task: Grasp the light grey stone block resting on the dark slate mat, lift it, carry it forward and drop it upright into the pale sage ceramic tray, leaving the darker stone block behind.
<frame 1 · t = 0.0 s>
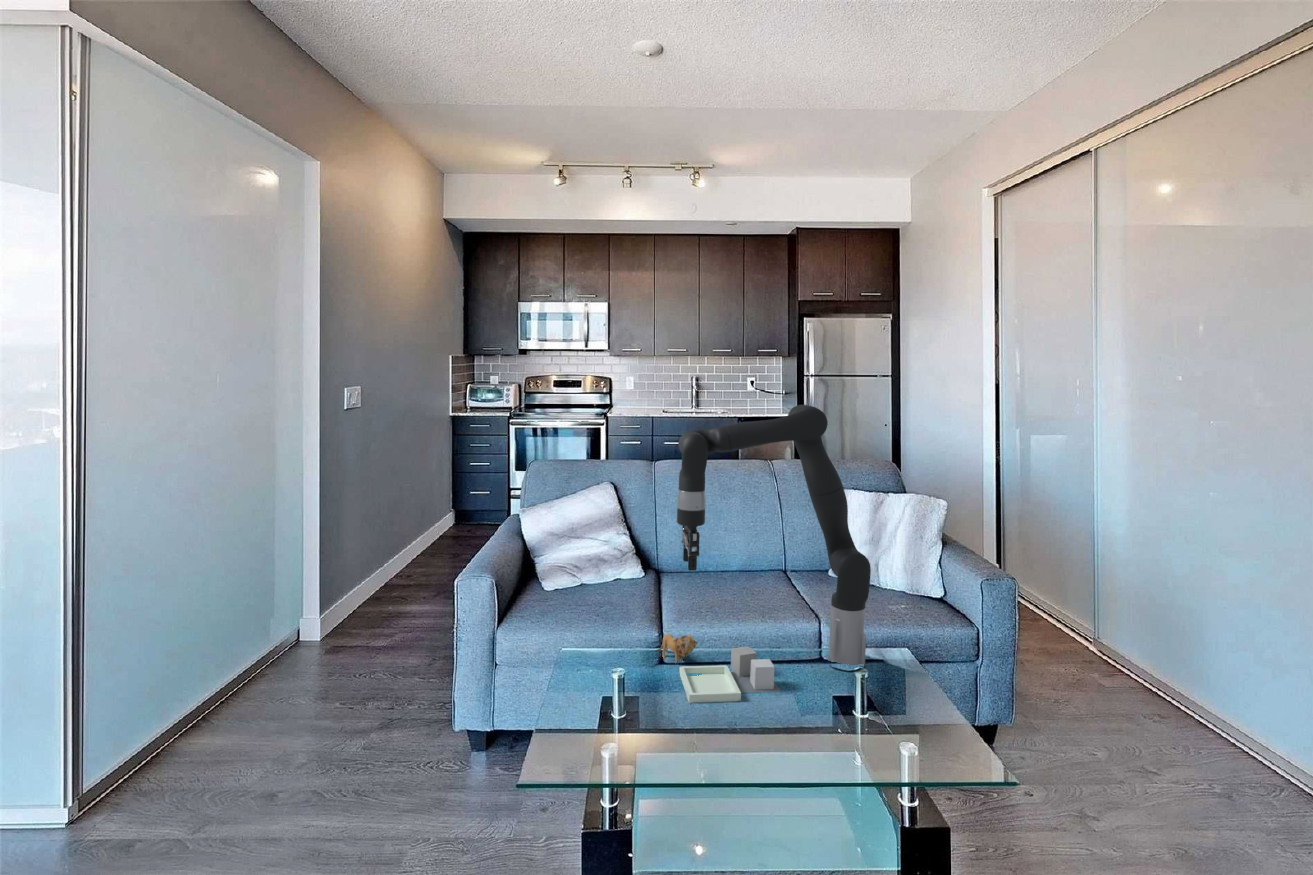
hand: (689, 565, 208), 29 cm above the table, fingers open, 8 cm apart
stone block b: (743, 671, 210), resting on slate mat
sage tray: (708, 688, 200), on the table
stone block a: (761, 685, 202), resting on slate mat
lion figurine: (676, 661, 217), on the table
slate mat: (752, 680, 206), on the table
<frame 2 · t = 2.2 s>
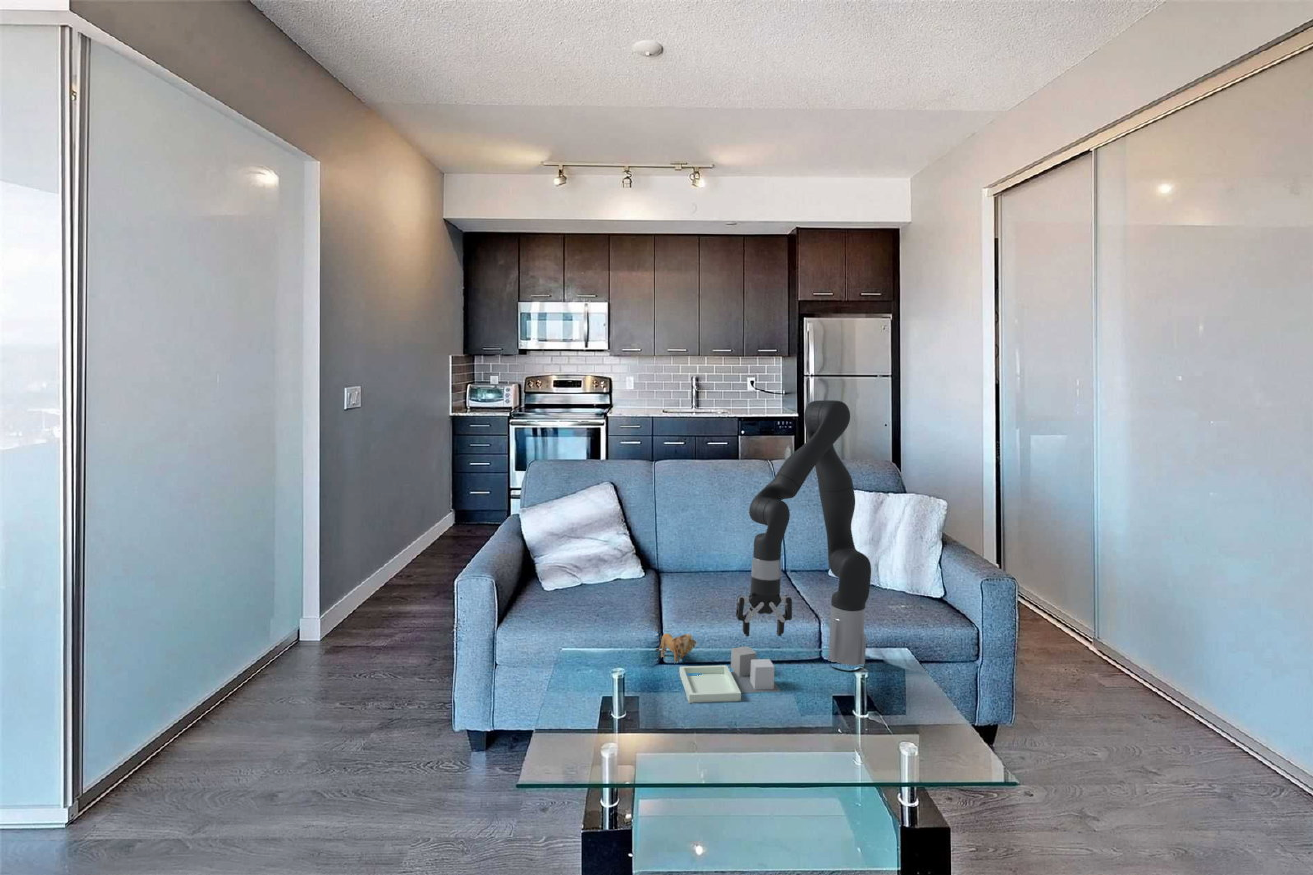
hand: (762, 635, 200), 14 cm above the table, fingers open, 8 cm apart
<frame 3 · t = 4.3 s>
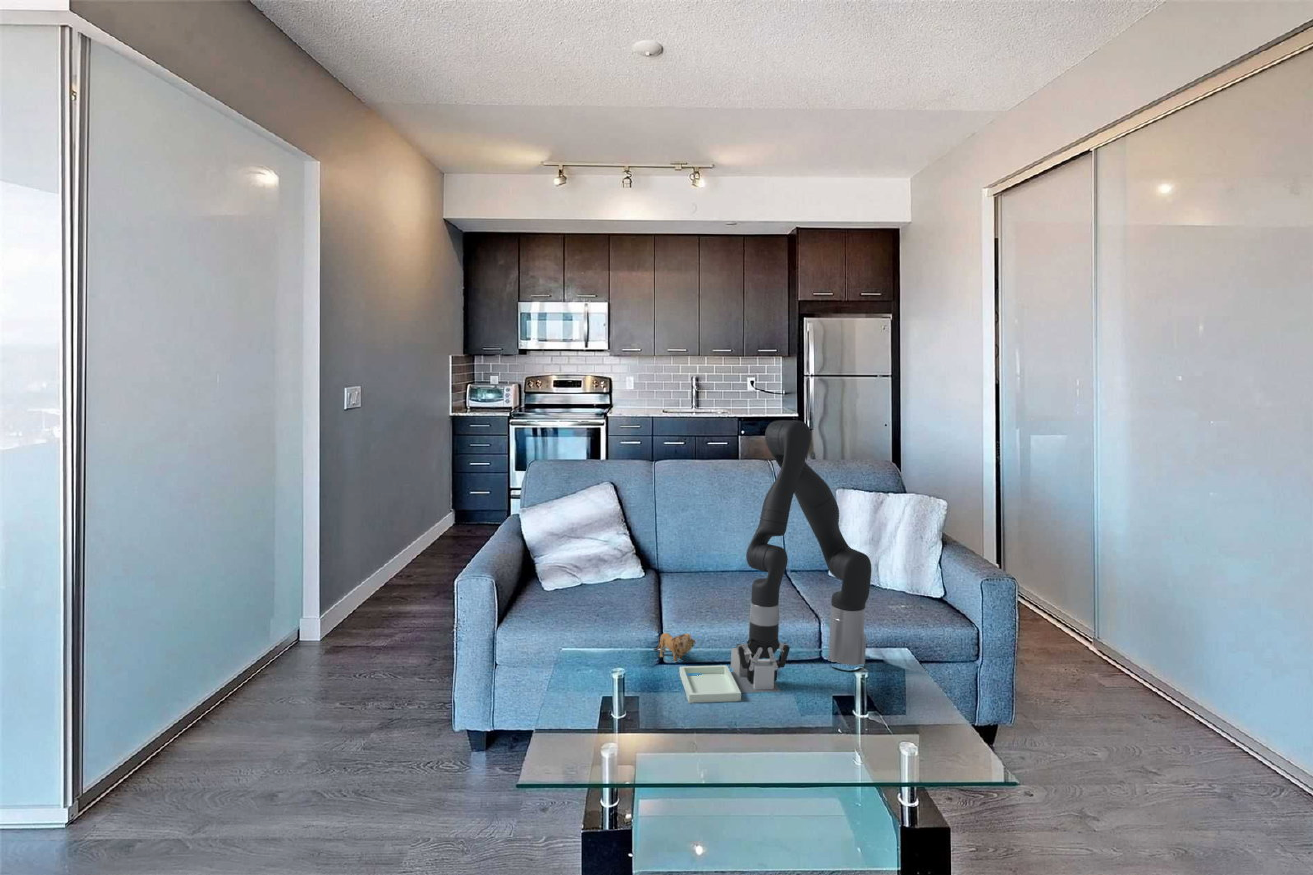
hand: (761, 682, 202), 1 cm above the table, fingers closed on stone block a, 5 cm apart
stone block a: (761, 685, 202), resting on slate mat, touching gripper
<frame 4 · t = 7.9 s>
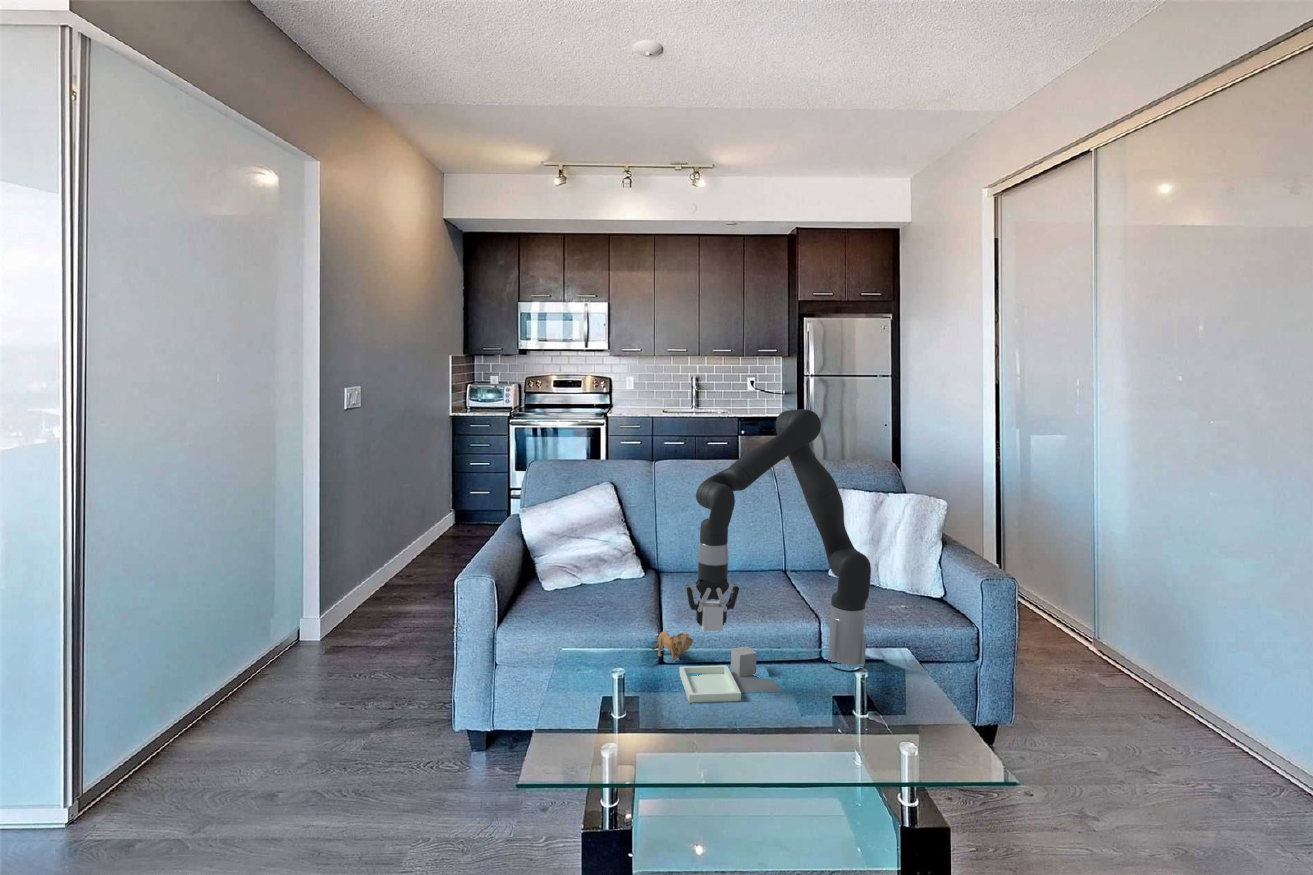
hand: (711, 624, 198), 17 cm above the table, fingers closed on stone block a, 5 cm apart
stone block a: (711, 627, 198), point 16 cm above the table, touching gripper
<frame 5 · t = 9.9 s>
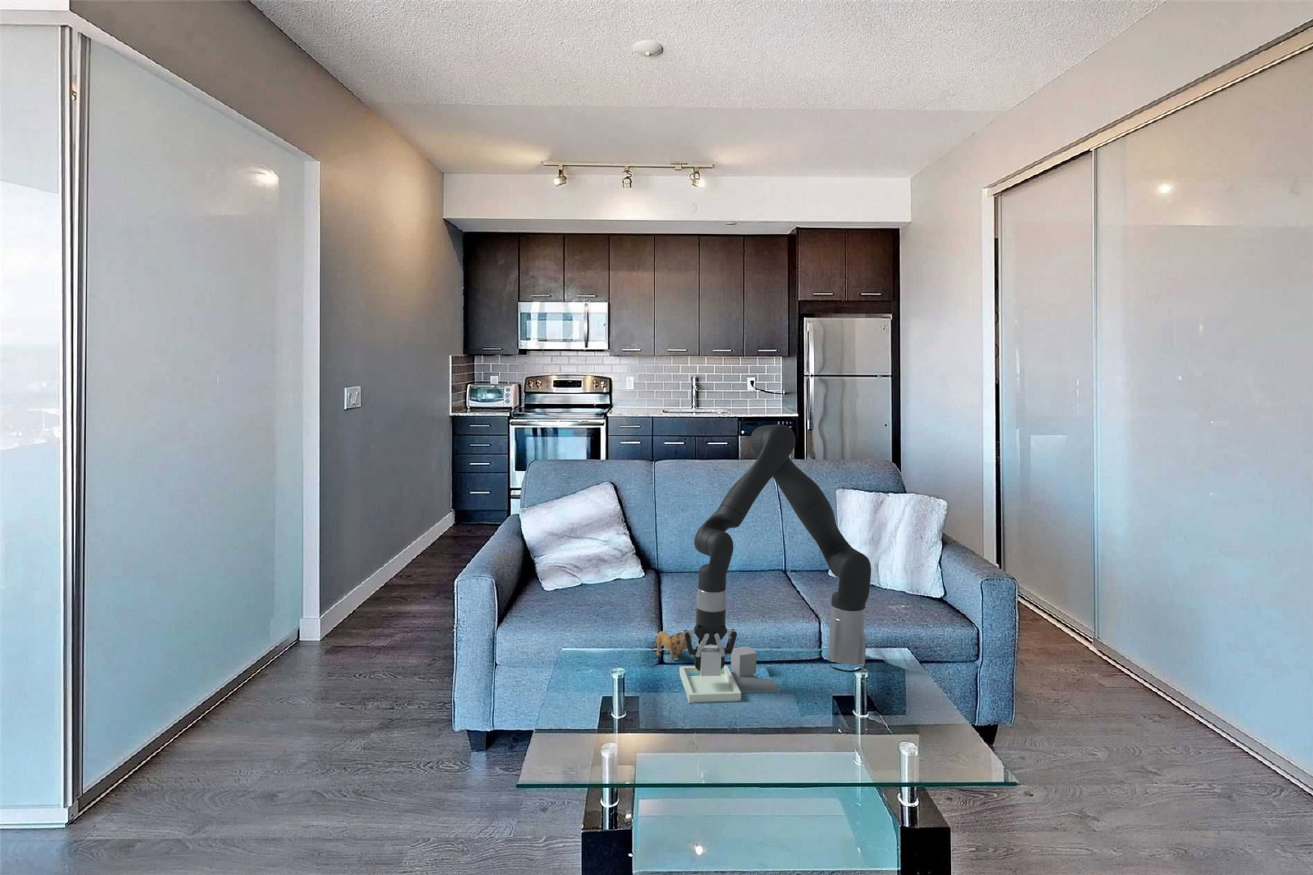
hand: (709, 668, 200), 5 cm above the table, fingers closed on stone block a, 5 cm apart
stone block a: (709, 671, 200), point 4 cm above the table, touching gripper
when the fingers open (3 cm above the table, at t = 11.3 s): stone block a drops 2 cm, resting on sage tray.
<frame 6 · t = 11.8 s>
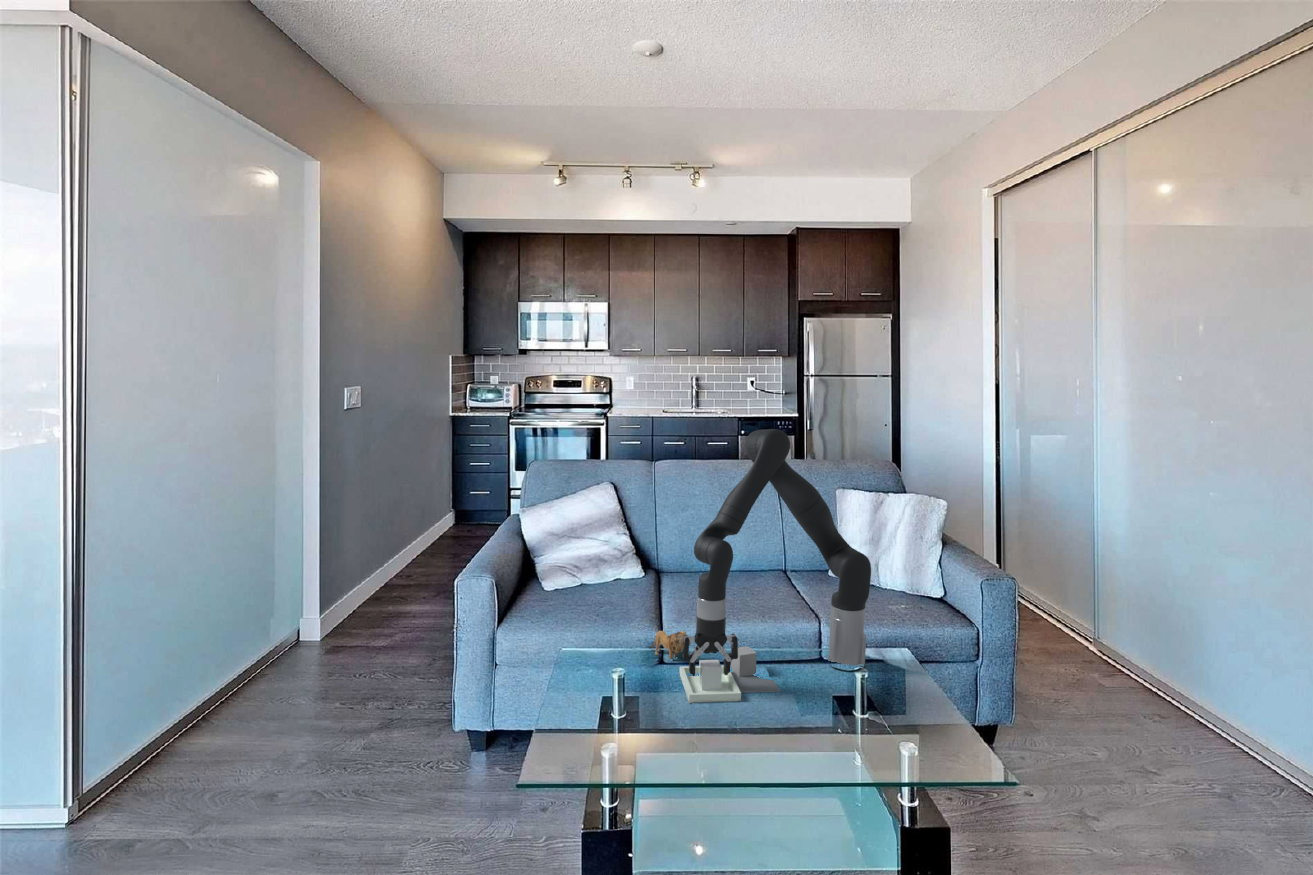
hand: (709, 674, 200), 4 cm above the table, fingers open, 8 cm apart
stone block a: (709, 686, 200), point 1 cm above the table, touching sage tray
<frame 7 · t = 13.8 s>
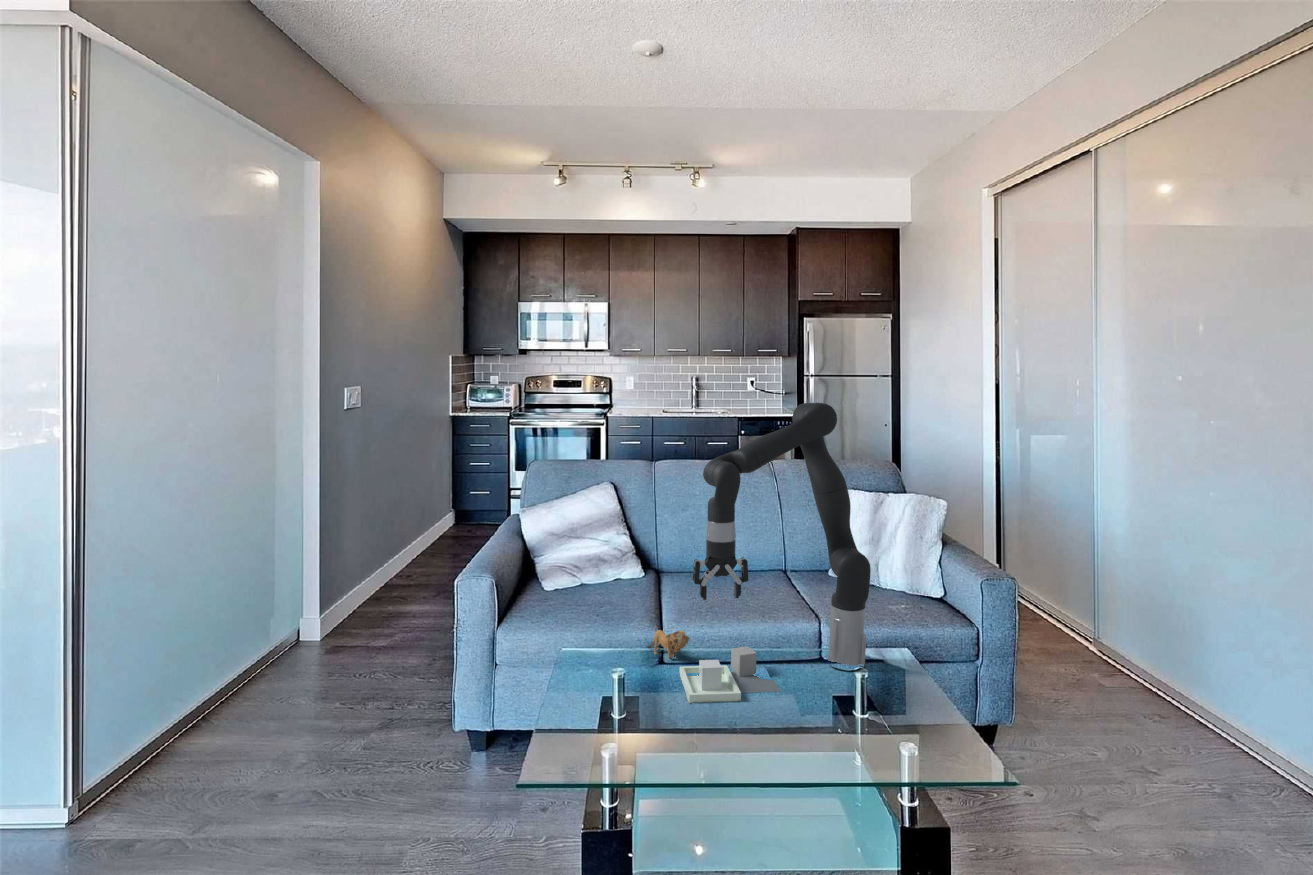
hand: (720, 598, 201), 23 cm above the table, fingers open, 8 cm apart
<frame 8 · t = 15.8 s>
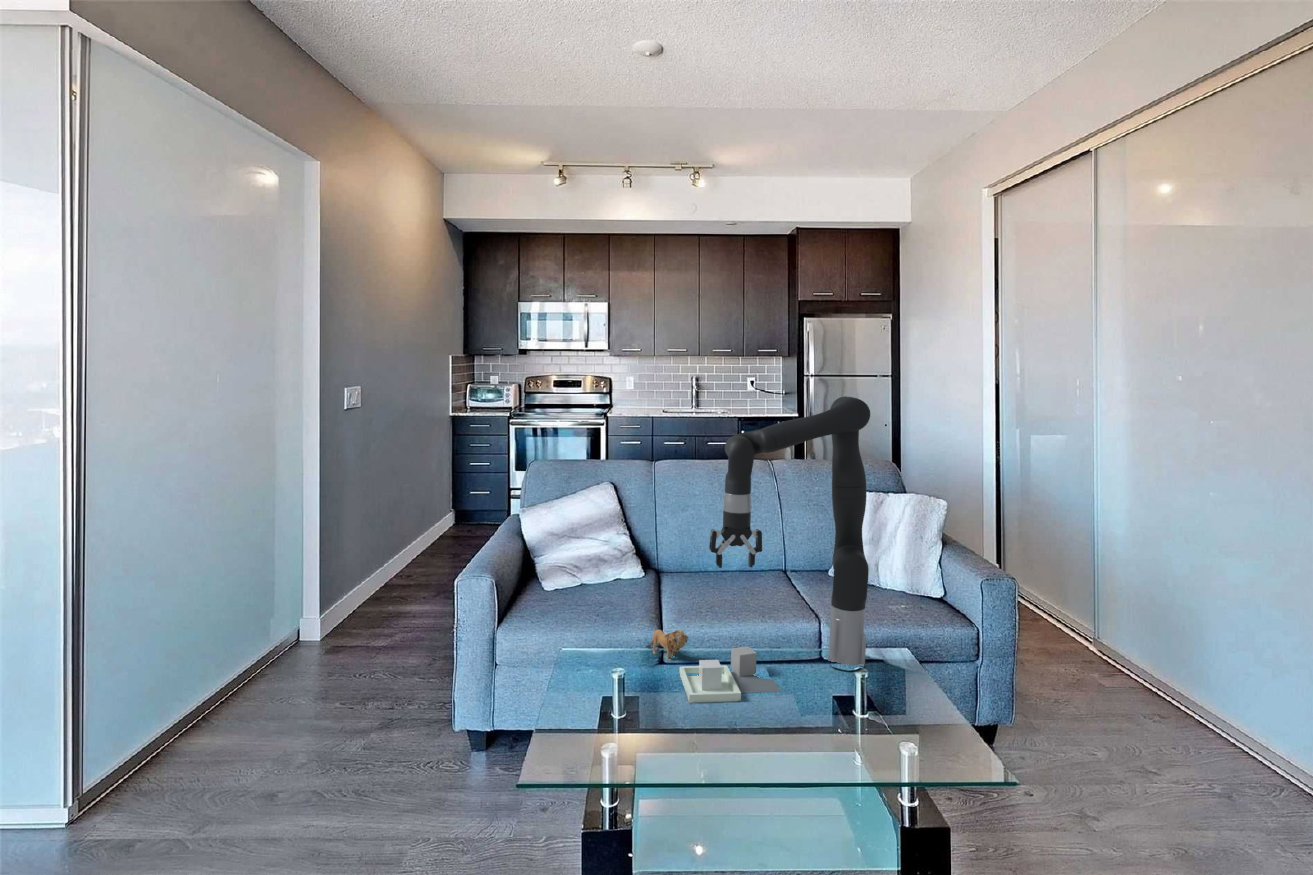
hand: (735, 567, 212), 28 cm above the table, fingers open, 8 cm apart
at the end: stone block a inside the target area on the sage tray (0.2 cm from its centre), point 0.6 cm above the sage tray's base; stone block a tilted 0°; the gripper is holding nothing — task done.
